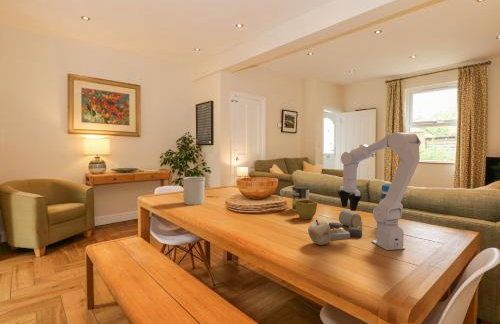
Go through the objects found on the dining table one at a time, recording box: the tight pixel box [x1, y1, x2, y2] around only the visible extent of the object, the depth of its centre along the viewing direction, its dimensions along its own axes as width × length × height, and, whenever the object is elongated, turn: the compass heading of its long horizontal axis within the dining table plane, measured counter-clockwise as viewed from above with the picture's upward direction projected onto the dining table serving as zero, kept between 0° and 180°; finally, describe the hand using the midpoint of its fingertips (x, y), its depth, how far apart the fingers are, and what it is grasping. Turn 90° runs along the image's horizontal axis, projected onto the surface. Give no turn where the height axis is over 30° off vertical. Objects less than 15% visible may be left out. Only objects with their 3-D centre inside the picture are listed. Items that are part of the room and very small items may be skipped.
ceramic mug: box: [338, 209, 363, 228], centre depth 132 cm, size 11×8×8 cm
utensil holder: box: [182, 176, 206, 206], centre depth 186 cm, size 15×15×18 cm
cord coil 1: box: [328, 222, 342, 229], centre depth 125 cm, size 6×6×3 cm
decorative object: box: [307, 219, 331, 246], centre depth 107 cm, size 9×9×10 cm
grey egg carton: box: [330, 227, 351, 241], centre depth 117 cm, size 7×10×4 cm
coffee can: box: [291, 185, 310, 212], centre depth 166 cm, size 10×10×14 cm
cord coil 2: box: [347, 226, 363, 239], centre depth 118 cm, size 6×6×3 cm
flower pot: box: [295, 199, 318, 220], centre depth 147 cm, size 9×9×9 cm
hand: (348, 208), depth 123 cm, fingers open, 7 cm apart
